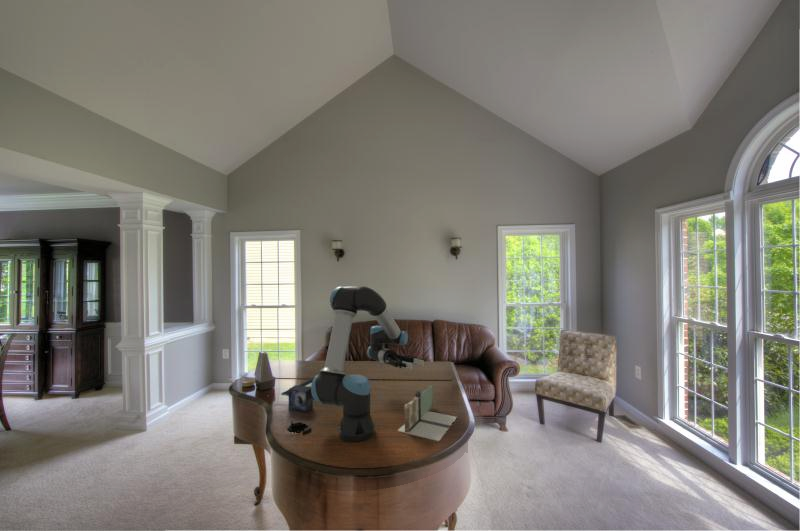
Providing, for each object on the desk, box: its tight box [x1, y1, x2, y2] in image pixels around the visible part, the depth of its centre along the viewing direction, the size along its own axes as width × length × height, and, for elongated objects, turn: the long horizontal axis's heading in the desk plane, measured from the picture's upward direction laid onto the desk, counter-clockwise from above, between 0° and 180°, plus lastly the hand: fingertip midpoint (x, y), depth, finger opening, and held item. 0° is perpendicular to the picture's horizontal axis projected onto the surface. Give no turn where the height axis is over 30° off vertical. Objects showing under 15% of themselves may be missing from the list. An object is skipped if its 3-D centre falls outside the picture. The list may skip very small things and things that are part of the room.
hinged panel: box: [420, 384, 434, 417], centre depth 158 cm, size 15×2×10 cm, turn 153°
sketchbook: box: [280, 377, 315, 400], centre depth 194 cm, size 22×30×2 cm
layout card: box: [397, 410, 458, 442], centre depth 147 cm, size 24×19×1 cm
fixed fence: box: [404, 390, 422, 432], centre depth 145 cm, size 14×3×14 cm, turn 153°
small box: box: [288, 384, 314, 413], centre depth 165 cm, size 11×6×10 cm, turn 73°
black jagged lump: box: [287, 420, 312, 435], centre depth 142 cm, size 12×10×5 cm
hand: (417, 364), depth 164 cm, fingers open, 8 cm apart
